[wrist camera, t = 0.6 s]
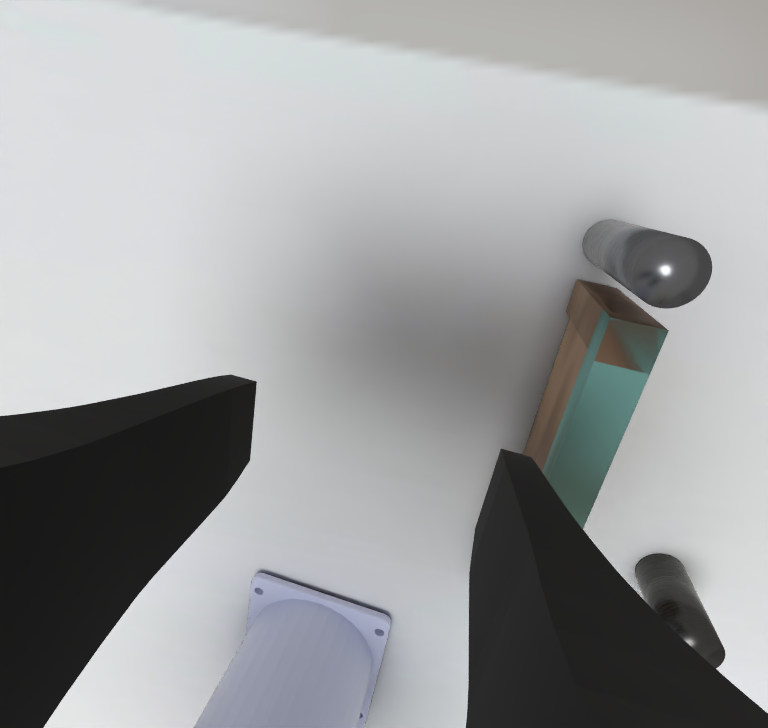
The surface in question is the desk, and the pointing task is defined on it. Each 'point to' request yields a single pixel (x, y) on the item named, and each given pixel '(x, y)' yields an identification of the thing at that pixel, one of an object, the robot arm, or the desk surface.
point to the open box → (592, 392)
